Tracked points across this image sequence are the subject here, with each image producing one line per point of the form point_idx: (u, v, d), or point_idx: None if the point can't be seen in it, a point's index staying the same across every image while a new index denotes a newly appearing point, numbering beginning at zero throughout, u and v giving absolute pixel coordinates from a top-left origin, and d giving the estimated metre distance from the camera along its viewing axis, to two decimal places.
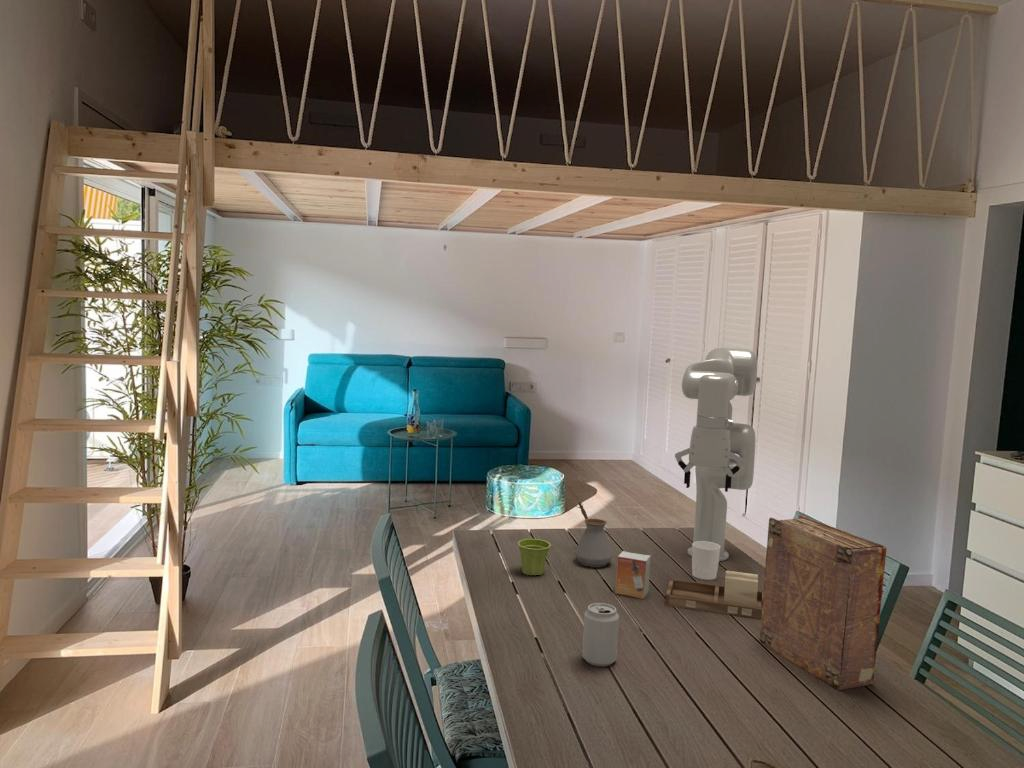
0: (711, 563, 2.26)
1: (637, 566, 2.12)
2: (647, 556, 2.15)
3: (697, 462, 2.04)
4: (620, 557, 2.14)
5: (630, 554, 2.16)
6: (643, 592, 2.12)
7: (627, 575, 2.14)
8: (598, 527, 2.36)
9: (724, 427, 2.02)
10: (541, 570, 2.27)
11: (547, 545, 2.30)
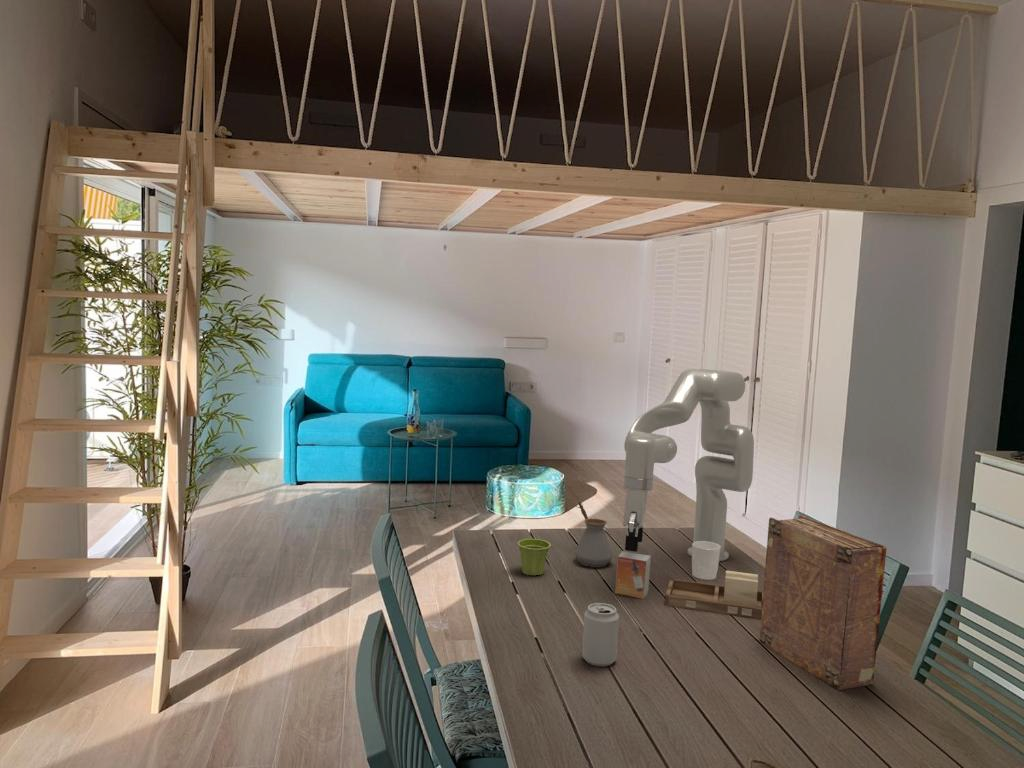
0: (711, 563, 2.26)
1: (637, 566, 2.12)
2: (647, 556, 2.15)
3: (642, 523, 2.11)
4: (620, 557, 2.14)
5: (630, 554, 2.16)
6: (643, 592, 2.12)
7: (627, 575, 2.14)
8: (598, 527, 2.36)
9: None
10: (541, 570, 2.27)
11: (547, 545, 2.30)
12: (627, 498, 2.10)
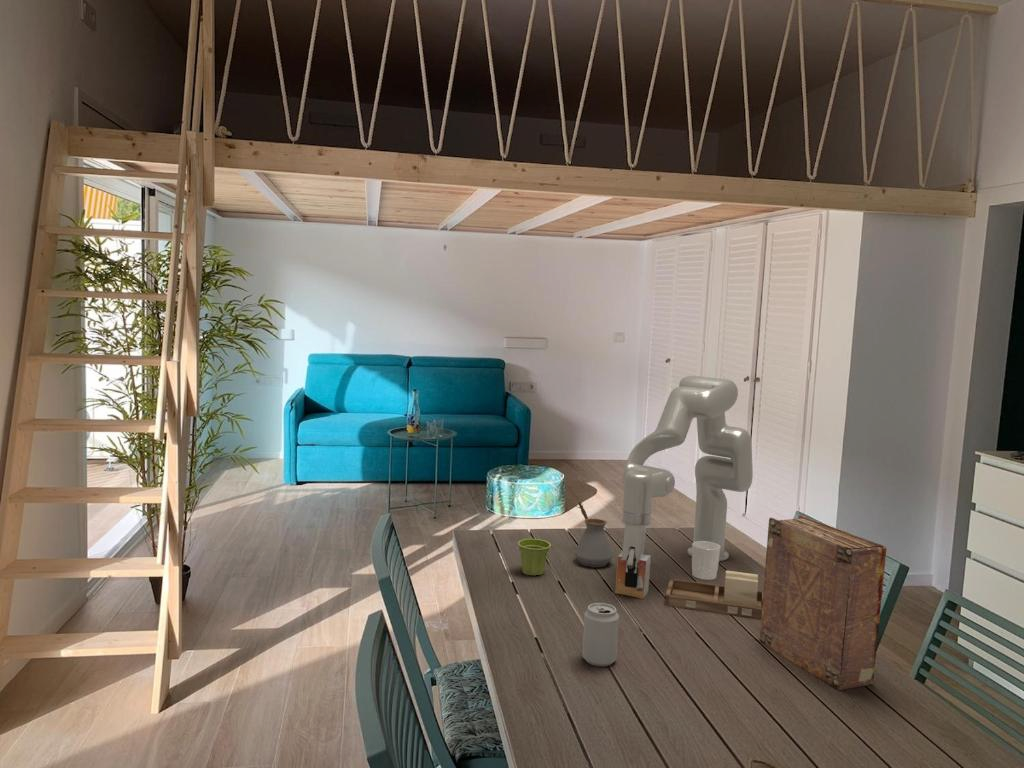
0: (711, 563, 2.26)
1: (637, 566, 2.12)
2: (647, 556, 2.15)
3: (640, 558, 2.12)
4: (620, 557, 2.14)
5: None
6: (643, 592, 2.12)
7: None
8: (598, 527, 2.36)
9: None
10: (541, 570, 2.27)
11: (547, 545, 2.30)
12: (625, 533, 2.11)
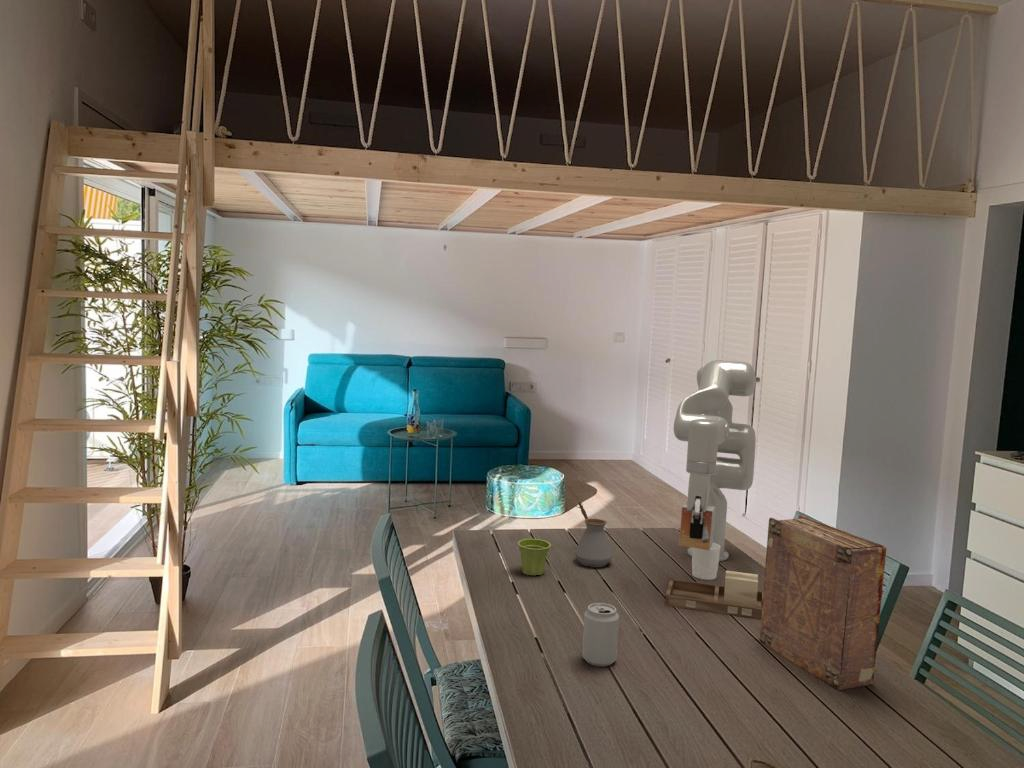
0: (711, 563, 2.26)
1: (703, 516, 2.05)
2: (712, 507, 2.08)
3: (706, 508, 2.05)
4: (684, 508, 2.07)
5: None
6: (709, 543, 2.06)
7: None
8: (598, 527, 2.36)
9: None
10: (541, 570, 2.27)
11: (547, 545, 2.30)
12: (691, 482, 2.04)
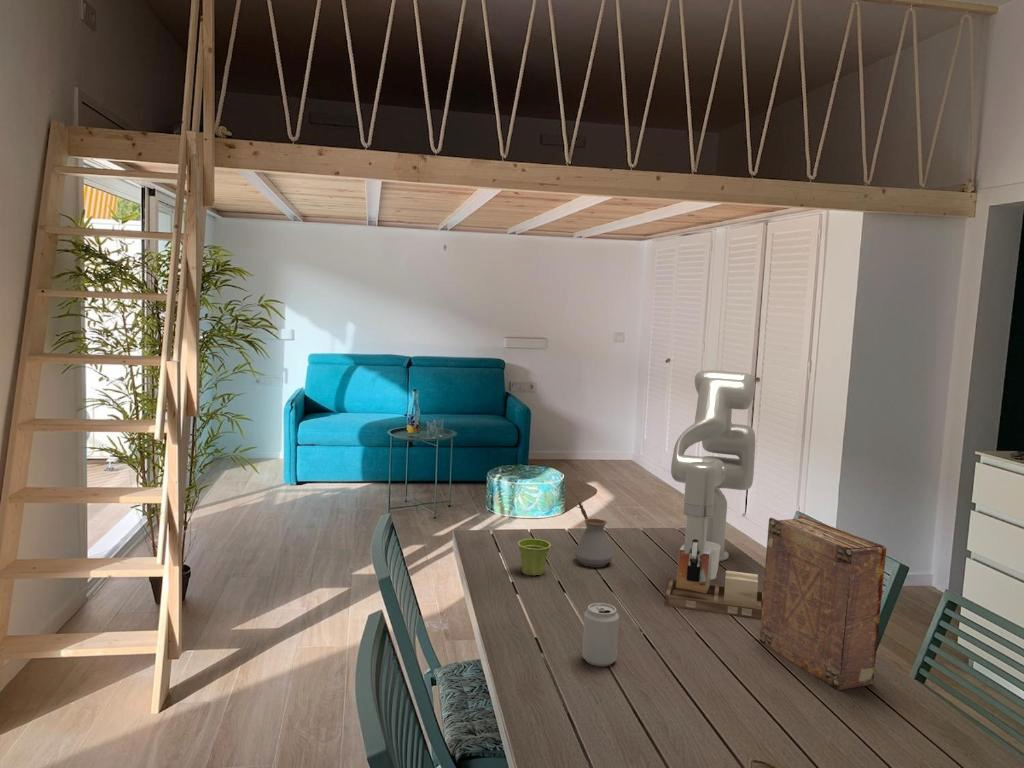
0: (711, 563, 2.26)
1: (700, 559, 2.06)
2: (709, 549, 2.09)
3: (703, 551, 2.06)
4: (682, 550, 2.08)
5: None
6: (706, 586, 2.07)
7: None
8: (598, 527, 2.36)
9: None
10: (541, 570, 2.27)
11: (547, 545, 2.30)
12: (688, 526, 2.05)
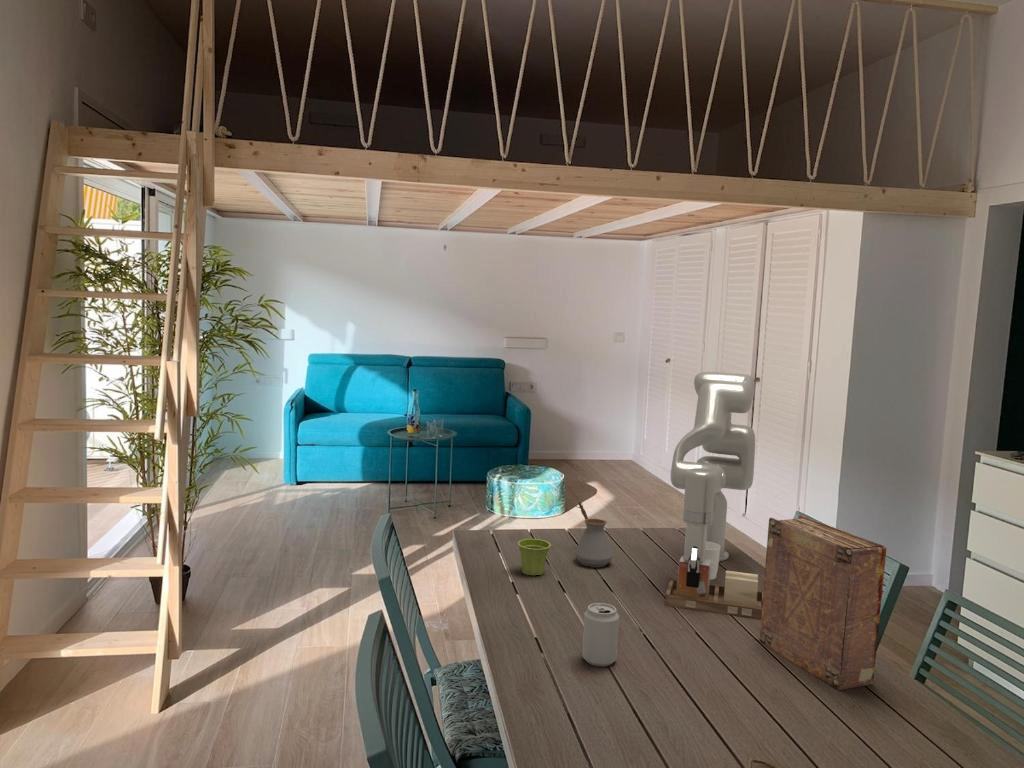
0: (711, 563, 2.26)
1: (700, 571, 2.07)
2: (708, 560, 2.10)
3: None
4: (681, 562, 2.09)
5: None
6: (706, 597, 2.07)
7: None
8: (598, 527, 2.36)
9: None
10: (541, 570, 2.27)
11: (547, 545, 2.30)
12: (688, 533, 2.05)
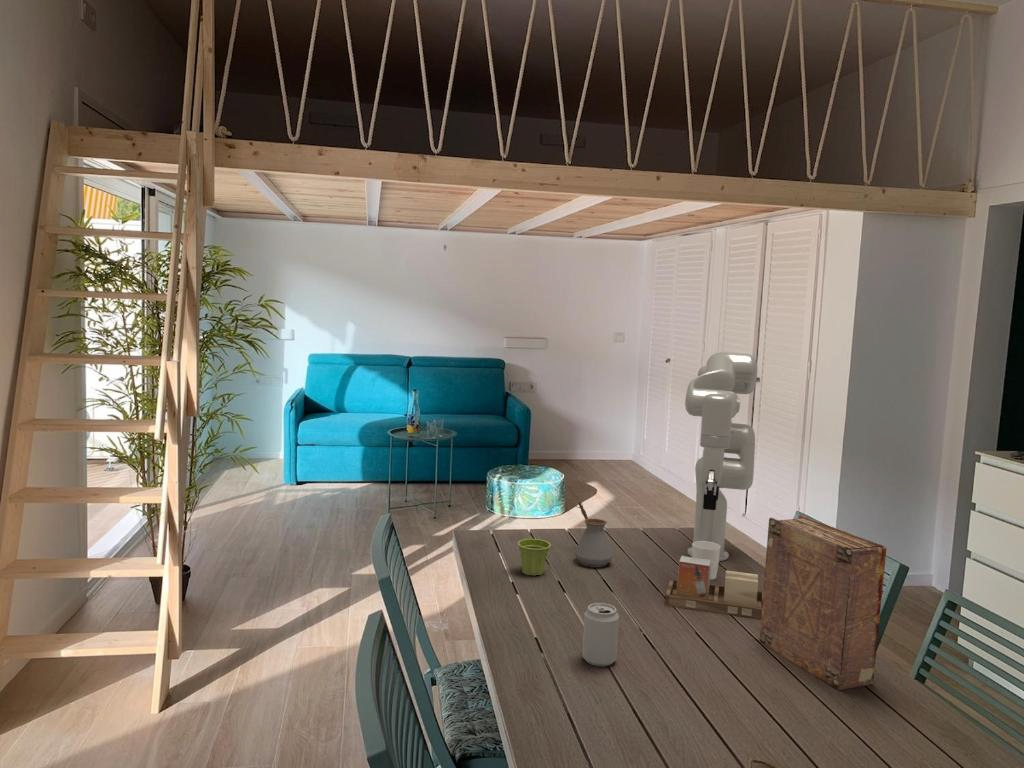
0: (711, 563, 2.26)
1: (700, 571, 2.07)
2: (708, 560, 2.10)
3: (719, 482, 2.08)
4: (681, 562, 2.09)
5: (691, 559, 2.11)
6: (706, 597, 2.07)
7: (689, 581, 2.08)
8: (598, 527, 2.36)
9: None
10: (541, 570, 2.27)
11: (547, 545, 2.30)
12: (705, 456, 2.06)
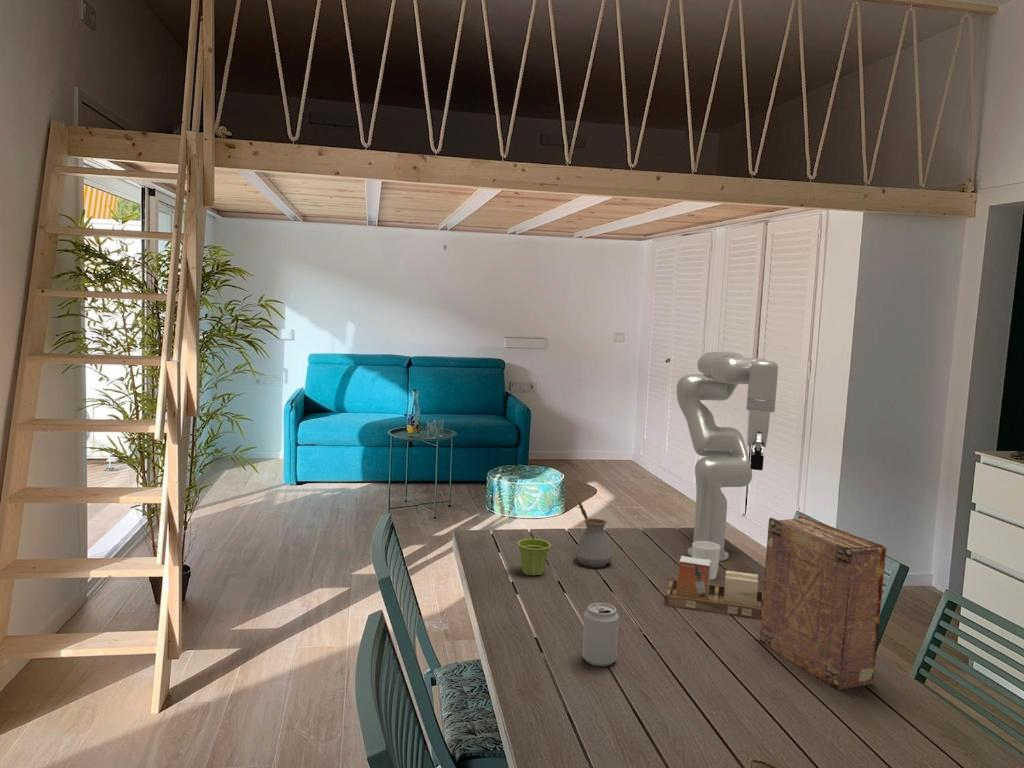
0: (711, 563, 2.26)
1: (700, 571, 2.07)
2: (708, 560, 2.10)
3: None
4: (681, 562, 2.09)
5: (691, 559, 2.11)
6: (706, 597, 2.07)
7: (689, 581, 2.08)
8: (598, 527, 2.36)
9: None
10: (541, 570, 2.27)
11: (547, 545, 2.30)
12: (752, 419, 2.18)
